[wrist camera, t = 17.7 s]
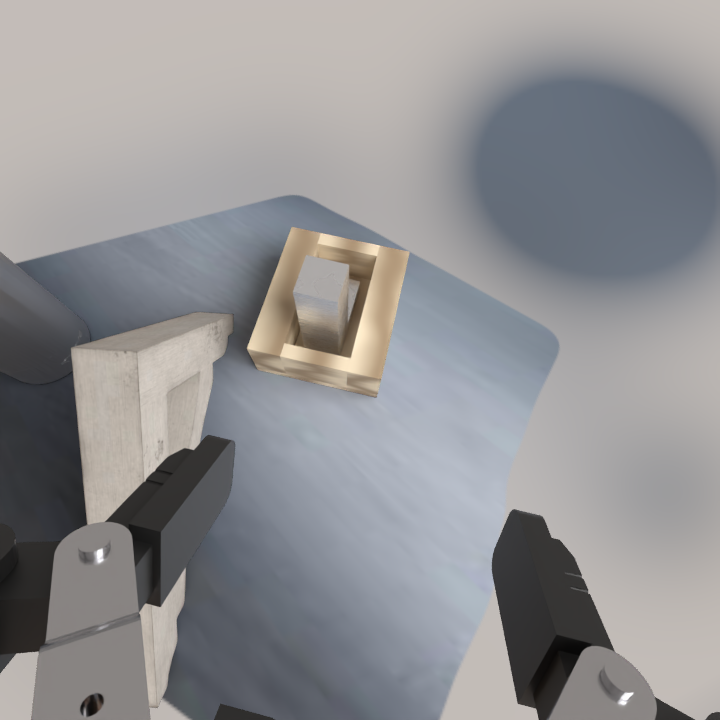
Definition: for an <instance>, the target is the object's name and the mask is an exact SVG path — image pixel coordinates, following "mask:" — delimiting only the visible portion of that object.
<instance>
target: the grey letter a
mask: <svg viewBox="0 0 720 720" xmlns="http://www.w3.org/2000/svg"><path fill="white" fill-rule="evenodd" d="M232 333H233V314H222V313H205V312H194V313H191V314H187V315H184V316H180V317H177V318H173V319H170V320H166V321H163V322H159V323H156V324H152V325H149V326H145V327H142V328H138V329H135V330H131V331H128V332H124V333H121V334H117V335H114V336H110V337H107V338H103V339H100V340H96V341H92V342H89V343H85V344H82V345H78V346H75V347H71V356H72V366H73V377H74V388H75V399H76V409H77V420H78V431H79V442H80V452H81V463H82V474H83V485H84V495H85V506H86V517H87V525H90V524H93V523H99V522H105V521H106V520H107V519H108V518H109V517H110V516H111V515H112V514H113V513H114V512H115V511H116V510H117V509H118V508H119V506H120V505H121V504H122V503H123V502H124V501H125V500H126V499H127V498H128V497H129V496H130V495H131V494H132V493H133V492H134V491H135V490H136V489H137V488H138V487H139V486H140V485H141V484H142V483H143V482H145V481H146V479H147V477H148V476H149V475H150V474H151V473H152V472H153V471H154V472H155V470H156V468H157V467H158V466H159V465H160V464H161V463H162V462H163V461H164V460H165V459H166V458H167V457H168V456H170V455H172V454H174V453H176V452H178V451H180V450H182V449H183V448H188V449H192V450H194V449H195V448H196V447H197V446H198V445H199V444H200V439H201V433H202V428H203V423H204V419H205V414H206V410H207V406H208V401H209V397H210V393H211V388H212V384H213V362H215V361H216V360H218V359H219V358H221V357H222V356H224V354H225V352H226V348H227V344H228V335H230V334H232ZM185 575H186V568H185V569H184V571H183V572H182V574H181V576H180V577H179V579H178V580H177V582H176V584H175V585H174V587H173V588H172V590H171V592H170V593H169V595H168V596H167V598H166V600H165V601H164V603H163V604H162V606H161V607H157V606H154V605H150V604H146V603H145V605H144V606H143V608H142V609H141V611H140V612H139V614H140V616H141V624H142V635H143V645H144V656H145V667H146V677H147V688H148V699H149V707H152V708H157V707H158V706H159V704H160V701H161V699H162V697H163V695H164V693H165V690H166V688H167V684H168V675H169V670H170V665H171V661H172V657H173V654H174V651H175V647H176V643H177V617H178V615H179V613H180V611H181V609H182V607H183V605H184V600H185Z"/></svg>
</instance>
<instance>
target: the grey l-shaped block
mask: <svg viewBox="0 0 720 720" xmlns="http://www.w3.org/2000/svg"><path fill="white" fill-rule="evenodd" d="M359 289H360V281H356V280H352V279H349V265H348V264H344V263H339V262H335V261H331V260H327V259H322V258H318V257H314V256H309V255H306V257H305V260H304V262H303V265H302V268H301V271H300V273H299V276H298V279H297V282H296V284H295V287H294V290H293V295H294V300H295V305H296V310H297V315H298V320H299V325H300V329H301V334H302V339H303V344H304V348H308V349H312V350H316V351H321V352H325V353H330V354H334V355H338V356H340V354H341V351H342V347H343V344H344V341H345V337H346V334H347V330H348V327H349V323H350V320H351V317H352V313H353V310H354V306H355V303H356V299H357V296H358V293H359Z"/></svg>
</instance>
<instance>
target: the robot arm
mask: <svg viewBox="0 0 720 720" xmlns="http://www.w3.org/2000/svg"><path fill="white" fill-rule="evenodd" d="M89 342H90V332H89V330H88V327H87V325H86V324H85V322H84V321H83V320H82V319H81V318H79V317H78V316H77V315H76V314H75V313H73V312H72V311H71V310H70V309H69V308H67V307H66V306H65V305H64V304H63V303H62V302H60V301H59V300H58V299H57V298H56V297H54V296H53V295H52V294H51V293H50V292H48V291H47V290H46V289H45V288H44V287H42V286H41V285H40V284H39V283H37V282H36V281H35V280H34V279H33V278H31V277H30V276H29V275H28V274H27V273H25V272H24V271H23V270H22V269H20V268H19V267H18V266H17V265H16V264H14V263H13V262H12V261H11V260H9V259H8V258H7V257H6V256H5V255H3V254H2V253H1V252H0V372H2V373H5V374H7V375H9V376H11V377H13V378H15V379H17V380H19V381H22V382H25V383H29V384H45V383H50V382H53V381H56V380H59V379H61V378H62V377H64V376H66V375H68V374H69V373H70V372H72V371H73V366H72V356H71V347H75V346H78V345H82V344H85V343H89ZM234 455H235V442H234V441H232V440H228V439H224V438H220V437H216V436H211V435H207V436H206V437H205V438H204V439H203V440H202V441H201V443H200V444H199V445H198V446H197V447H196V448H195V449H194V450H192V449H188V448H183V449H182V450H180V451H178V452H176V453H174V454H172V455H170V456H168V457H167V458H166V459H165V460H164V461H163V462H162V463H161V464H160V465H159V466H158V467H157V468H156V470H155V472H154V471H153V472H152V473H151V474H150V475H149V476H148V477H147V479H146V481H145V482H143V483H142V484H141V485H140V486H139V487H138V488H137V489H136V490H135V491H134V492H133V493H132V494H131V495H130V496H129V497H128V498H127V499H126V500H125V501H124V502H123V503H122V504H121V505H120V506H119V508H118V509H117V510H116V511H115V512H114V513H113V514H112V515H111V516H110V517H109V518H108V519H107V520H106V521H105V522H99V523H93V524H90V525H86V526H84V527H81V528H79V529H77V530H75V531H74V532H72V533H70V534H69V535H68V536H67V537H65V538H64V539H63V540H62V541H56V542H26V543H16V539H15V533H14V532H13V530H12V529H11V528H10V527H8V526H6V525H4V524H0V673H1V672H2V670H3V669H4V668H5V667H6V665H7V664H8V663H9V662H10V661H11V659H12V658H13V657H14V656H15V654H16V653H26V652H37V651H39V655H38V662H37V671H36V680H35V689H34V699H33V707H32V716H31V720H150V709H149V699H148V688H147V677H146V667H145V656H144V645H143V635H142V624H141V616H140V614H139V612H140V611H141V609H142V608H143V606H144V605H145V603H146V604H150V605H154V606H157V607H161V606H162V604H163V603H164V601H165V600H166V598H167V596H168V595H169V593H170V592H171V590H172V588H173V587H174V585H175V584H176V582H177V580H178V579H179V577H180V576H181V574H182V572H183V571H184V569H185V568H186V566H187V565H188V563H189V561H190V560H191V558H192V557H193V555H194V553H195V552H196V550H197V549H198V547H199V545H200V544H201V542H202V541H203V539H204V537H205V536H206V534H207V533H208V531H209V530H210V528H211V526H212V525H213V523H214V522H215V520H216V518H217V517H218V515H219V514H220V512H221V510H222V509H223V507H224V506H225V504H226V502H227V499H228V497H229V494H230V491H231V486H232V478H233V467H234ZM492 574H493V579H494V584H495V590H496V595H497V599H498V605H499V610H500V615H501V620H502V625H503V630H504V636H505V641H506V646H507V650H508V656H509V661H510V666H511V671H512V676H513V681H514V686H515V691H516V697H517V702H518V704H521V705H525V706H529V707H533V708H536V709H537V713H538V718H539V720H695V719H693V718H691V717H689V716H687V715H686V714H684V713H682V712H680V711H678V710H677V709H675V708H673V707H671V706H669V705H668V704H666V703H664V702H662V701H661V700H659V699H657V698H656V697H654V694H653V692H652V690H651V688H650V686H649V684H648V683H647V681H646V680H645V678H644V677H643V676H642V675H641V673H640V672H639V671H638V670H637V669H636V668H635V667H634V666H633V665H632V664H631V663H630V662H629V661H627V660H626V659H625V658H623V657H622V656H620V655H619V654H617V653H616V652H615V651H614V649H613V646H612V644H611V642H610V639H609V637H608V635H607V633H606V630H605V628H604V626H603V623H602V621H601V619H600V616H599V614H598V612H597V609H596V607H595V605H594V602H593V600H592V598H591V595H590V594H588V589H587V586H586V584H585V581H584V579H582V575H581V572H580V570H579V568H578V565H577V563H576V561H575V558H574V557H573V555H572V554H571V553H570V552H569V551H568V549H567V548H566V547H565V546H564V545H563V543H562V542H561V541H560V540H558V539H553V538H551V535H550V533H549V530H548V528H547V525H546V523H545V520H544V519H543V517H542V516H540V515H535V514H531V513H527V512H523V511H519V510H515V509H514V510H512V511H511V512H510V514H509V516H508V519H507V521H506V523H505V525H504V528H503V530H502V533H501V535H500V537H499V540H498V542H497V544H496V547H495V549H494V553H493V558H492ZM214 720H274V719H273V718H271V717H267V716H263V715H260V714H256V713H252V712H249V711H245V710H241V709H238V708H234V707H230V706H227V705H223V704H220V706H219V709H218V711H217V714H216V716H215V719H214ZM705 720H720V712H715V713H712V714H710V715H709V716H708V717H707V718H706V719H705Z"/></svg>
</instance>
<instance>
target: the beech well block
mask: <svg viewBox="0 0 720 720" xmlns="http://www.w3.org/2000/svg"><path fill="white" fill-rule="evenodd" d="M306 255H309V256H314V257H318V258H322V259H327V260H331V261H335V262H339V263H344V264H348V265H349V279H352V280H356V281H360V289H359V293H358V296H357V299H356V303H355V306H354V310H353V313H352V317H351V320H350V323H349V327H348V330H347V334H346V337H345V341H344V344H343V347H342V351H341V354H340V356H338V355H334V354H330V353H325V352H321V351H316V350H312V349H308V348H304V344H303V339H302V334H301V329H300V325H299V320H298V315H297V310H296V305H295V300H294V295H293V290H294V287H295V284H296V282H297V279H298V276H299V273H300V271H301V268H302V265H303V262H304V260H305V257H306ZM408 257H409V252H407V251H402V250H398V249H393V248H388V247H384V246H379V245H374V244H369V243H365V242H360V241H355V240H351V239H346V238H341V237H337V236H332V235H327V234H322V233H318V232H313V231H308V230H304V229H299V228H294V227H292V228H291V230H290V233H289V236H288V239H287V241H286V244H285V247H284V249H283V252H282V255H281V258H280V260H279V263H278V266H277V268H276V271H275V274H274V276H273V279H272V282H271V285H270V287H269V290H268V293H267V295H266V298H265V301H264V304H263V306H262V309H261V312H260V314H259V317H258V320H257V322H256V325H255V328H254V331H253V333H252V336H251V339H250V341H249V344H248V347H247V350H248V352H249V354H250V356H251V358H252V360H253V362H254V364H255V366H256V367H257V369H258V370H260V371H264V372H269V373H273V374H277V375H282V376H286V377H290V378H295V379H299V380H303V381H308V382H312V383H316V384H321V385H325V386H329V387H333V388H338V389H342V390H346V391H351V392H355V393H359V394H364V395H368V396H372V397H377V394H378V390H379V386H380V382H381V378H382V373H383V369H384V364H385V360H386V355H387V351H388V346H389V342H390V337H391V333H392V328H393V324H394V319H395V315H396V310H397V306H398V302H399V297H400V293H401V288H402V284H403V279H404V275H405V270H406V266H407V261H408Z"/></svg>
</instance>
